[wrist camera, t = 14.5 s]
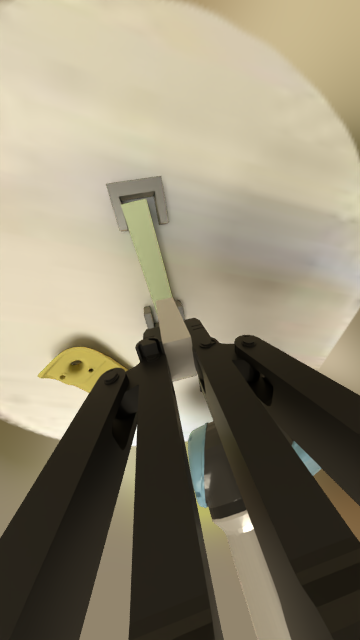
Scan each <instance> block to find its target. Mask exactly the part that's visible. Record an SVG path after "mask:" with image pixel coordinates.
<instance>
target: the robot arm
mask: <svg viewBox="0 0 360 640" xmlns="http://www.w3.org/2000/svg"><path fill="white" fill-rule="evenodd" d="M156 308H157V314H158V320H159V327H155V328H151V329H146V331H145V332H144V334H143V340H141V341H139V342H138V343H137V345H136V347H135V348H136V351H137V354H138V357H139V360H140V363H139V364H138V365H137V366H135V367H133V368H132V369H130V370H128V371H126V372H125V370H124V369H123V368H112V369H110V370H108V371H106V372H105V373H103V374H102V375H101V376H100V377H99V379H98V380H97V382H96V383H95V385H94V387H93V388H92V390H91V391H90V393H89V395H88V396H87V398H86V400H85V401H84V403H83V404H82V406H81V408H80V409H79V411H78V413H77V414H76V416H75V417H74V419H73V421H72V422H71V424H70V426H69V427H68V429H67V431H66V432H65V434H64V435H63V437H62V439H61V440H60V442H59V444H58V445H57V447H56V448H55V450H54V452H53V453H52V455H51V457H50V458H49V460H48V461H47V463H46V465H45V466H44V468H43V470H42V471H41V473H40V474H39V476H38V478H37V479H36V481H35V483H34V484H33V486H32V488H31V489H30V491H29V492H28V494H27V496H26V497H25V499H24V501H23V502H22V504H21V506H20V507H19V509H18V510H17V512H16V514H15V515H14V517H13V518H12V520H11V522H10V523H9V525H8V527H7V528H6V530H5V531H4V533H3V535H2V536H1V538H0V640H79V638H80V634H81V630H82V627H83V623H84V619H85V615H86V612H87V608H88V605H89V601H90V597H91V594H92V590H93V586H94V582H95V579H96V575H97V571H98V568H99V564H100V560H101V556H102V553H103V549H104V545H105V542H106V538H107V534H108V530H109V527H110V522H111V519H112V516H113V512H114V508H115V505H116V501H117V497H118V493H119V490H120V486H121V482H122V479H123V475H124V471H125V467H126V464H127V460H128V456H129V453H130V449H131V445H132V441H133V438H134V434H135V430H136V427H137V448H136V474H135V500H134V524H133V550H132V575H131V576H132V577H131V602H130V626H129V640H224V639H223V634H222V630H221V625H220V620H219V616H218V611H217V606H216V600H215V595H214V590H213V585H212V580H211V575H210V569H209V564H208V559H207V554H206V549H205V544H204V539H203V534H202V529H201V524H200V519H199V513H198V508H197V504H196V498H197V501H198V503H199V505H200V506H201V507H205V508H206V507H209V510H210V514H211V517H212V521H213V522H214V523H215V524H216V525H218V526H219V527H220V528H221V529H222V530H223V531H224V532H225V534H226V536H227V539H228V543H229V546H230V550H231V553H232V557H233V560H234V563H235V566H236V570H237V573H238V577H239V580H240V583H241V587H242V590H243V593H244V597H245V600H246V603H247V607H248V610H249V613H250V617H251V620H252V623H253V627H254V630H255V633H256V637H257V640H360V542H359V541H358V539H357V538H356V537H355V535H354V534H353V533H352V531H351V530H350V528H349V527H348V526H347V524H346V523H345V521H344V520H343V518H342V517H341V515H340V514H339V513H338V511H337V510H336V508H335V507H334V505H333V504H332V503H331V501H330V500H329V498H328V497H327V495H326V494H325V493H324V491H323V490H322V488H321V487H320V486H319V484H318V483H317V481H316V480H315V478H314V477H313V475H314V474H316V473H317V472H318V471H319V470H320V469H323V470H324V471H325V472H326V473H327V474H328V475H329V476H330V477H331V478H332V479H333V480H334V481H335V482H336V483H337V484H338V485H339V486H340V487H341V488H342V489H343V490H344V491H345V492H346V493H347V494H348V495H349V496H350V497H351V498H352V499H353V500H354V501H355V502H356V503H357V504H358V505H359V506H360V395H358V394H356V393H354V392H353V391H351V390H349V389H347V388H346V387H344V386H342V385H340V384H339V383H337V382H335V381H333V380H331V379H330V378H328V377H326V376H325V375H323V374H321V373H319V372H318V371H316V370H314V369H312V368H311V367H309V366H307V365H305V364H304V363H302V362H300V361H298V360H297V359H295V358H293V357H291V356H290V355H288V354H286V353H284V352H283V351H281V350H279V349H277V348H275V347H274V346H272V345H270V344H268V343H267V342H265V341H263V340H261V339H260V338H258V337H255V336H251V335H242V336H239V337H237V338H236V339H235V341H234V343H235V344H221V343H219V342H218V341H217V340H216V339H215V338H212V337H210V335H209V334H208V332H207V331H206V329H205V328H204V326H203V325H202V323H201V322H200V320H198V319H196V318H192V319H187V320H183V318H182V316H181V314H180V312H179V310H178V308H177V306H176V303H175V301H174V299H173V297H171V298H166V299H162V300H157V301H156ZM196 371H197V372H196ZM197 374H198V377H199V384H200V391H201V392H202V391H203V394H204V396H205V399H206V402H207V405H208V407H209V410H210V413H211V415H212V418H213V422H210V423H205V425H203V426H201V427H199V428H197V429H195V430H193V431H192V432H191V433H190V436H189V440H188V455H189V462H188V457H187V453H186V447H185V442H184V437H183V432H182V427H181V421H180V416H179V411H178V406H177V401H176V396H175V391H174V387H173V382H174V381H178V380H181V379H185V378H189V377H193V376H196V375H197ZM189 465H190V467H189ZM190 472H191V473H190ZM194 491H195V493H194ZM195 494H196V498H195Z"/></svg>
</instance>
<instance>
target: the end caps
mask: <svg viewBox="0 0 360 640" xmlns="http://www.w3.org/2000/svg"><path fill="white" fill-rule="evenodd" d="M106 186H107V189H108V193H109V196H110V200H111V203H112V207H113V210H114V213H115V217H116V220H117V224H118V227H119V231H126V230H129V228H128V225H127V222H126V219H125V216H124V213H123V210H122V207H121V205H122V201H125V200H131V199H138V198H144V197H150V196H154V201H155V206H156V211H157V217H158V222H159V225H161V224H166V223H168V222H169V221H168V215H167V209H166V203H165V197H164V191H163V184H162V178H161V176H157V177H150V178H143V179H136V180H130V181H123V182H116V183H109V184H106ZM175 303H176V306H177V308H178V310H179V312H180V314H181V316H182V318H183V320H185V319H184V313H183V307H182V305H181V303H180V301H179V300H176V301H175ZM144 317H145V320H146V324H147V327H148V329H151V328H155V327H159V322H157V323H154V321H153V317H152V313H151V309H150V306H149V307H145V308H144Z"/></svg>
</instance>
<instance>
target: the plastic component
mask: <svg viewBox="0 0 360 640" xmlns="http://www.w3.org/2000/svg"><path fill="white" fill-rule="evenodd" d="M75 360H80V361H81V362H80V363H79V364H77V365H72V364H71V362H73V361H75ZM91 368H92V369H93V370H92V371H89V369H91ZM112 368H123V369H124V370H125V372H126V371H128V369H126V368H125V367H123V366H122V365H120V364H119V363H118V362H116V361H115V360H113V359H112V358H110V357H109V356H105V355H104V354H102V353H100V352H98V351H96V350H93V349H90V348H87V347H73V348H69V349H67V350H65V351H63V352H61V353H60V354H59V355H58V356H56V357H55V358H54V359H53V360H52V361H51V362H50V363H49V364H48V365H47V366H46V367H45V368H44V369H43V370H42V371H41V372H40V373H39V374H38V377H39V378H50V379H56V380H59V381H61V382H63V383H65V384H68V385H74V386H76V387H78V388H80V389H82V390H84V391H86V392H88V393H90V391H91V390H92V388H93V387H94V385H95V383H96V382H97V380H98V379H99V377H100V376H101V375H102V374H103V373H105V372H106V371H108V370H110V369H112Z"/></svg>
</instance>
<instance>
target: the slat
mask: <svg viewBox="0 0 360 640" xmlns="http://www.w3.org/2000/svg"><path fill="white" fill-rule="evenodd" d="M121 207H122V210H123V213H124V216H125V219H126V222H127V225H128V228H129V231H130V234H131V237H132V240H133V243H134V246H135V249H136V252H137V255H138V258H139V261H140V264H141V267H142V270H143V273H144V276H145V279H146V282H147V285H148V288H149V291H150V294H151V297H152V300H153V303H154V306H155V309H156V312H157V308H156V301H157V300H162V299H166V298H171V297H172V294H171V290H170V286H169V282H168V279H167V275H166V271H165V267H164V264H163V260H162V256H161V252H160V249H159V245H158V241H157V238H156V234H155V230H154V226H153V223H152V219H151V215H150V211H149V208H148V204H147V200H146V199H142V200H138V201H134V202H130V203H126V204H122V205H121ZM157 315H158V314H157Z"/></svg>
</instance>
